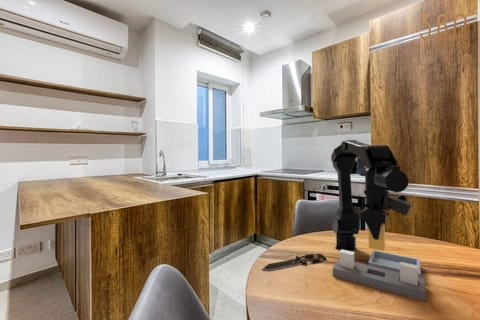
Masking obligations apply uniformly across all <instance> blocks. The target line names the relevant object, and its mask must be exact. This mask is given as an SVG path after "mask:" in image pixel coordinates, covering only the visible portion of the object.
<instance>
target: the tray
mask: <svg viewBox="0 0 480 320" xmlns="http://www.w3.org/2000/svg"><path fill="white" fill-rule="evenodd" d="M400 262H404V263H409V264H414V265H418V277H421V278H422V273H421V260H420V258H415V257H412V256H411V257H410V256H406V255H400V254H396V253H390V252H385V251H382V250H377V249H372V252H371V254H370V257H369V259H368V264H367V265H370V266H374V267H378V268H382V269H387V270H391V271H395V272H400Z"/></svg>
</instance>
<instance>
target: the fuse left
mask: <svg viewBox="0 0 480 320" xmlns="http://www.w3.org/2000/svg"><path fill="white" fill-rule="evenodd" d="M355 253H356V252H355V251H353V252H352V251H347V250H342V249H340V250H339V258H340V266H341V267H345V268H349V269H353V270H354V269H355V262H356V261H355V260H356V259H355V258H356V255H355Z"/></svg>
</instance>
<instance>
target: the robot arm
mask: <svg viewBox="0 0 480 320" xmlns="http://www.w3.org/2000/svg"><path fill="white" fill-rule="evenodd" d="M330 156H331V157H330V159H331V160H330V161H331V162H332V167H333V169H334V170H335V171H336V172H337V182H338V183H337V185H338V188H337V189H338V200H339V201H338V203H339V204H338V205H339V207H338V208H339V209H338V210H337V212H336V213H335V219H334V221H333V224H332V231H333V233H334V234H335V235H336V238H335V240H336V242H335V243H336V245H335V247H334V248H335V249H338V250H341V249H342V250H347V251H352V252H354V251H355V250H356V248H357V237H356V236H355V235H359V232H360V225H361V223H360V221H362V222H365V224H366V226H367V228H369V230H370V232H371V234H372V236H373V238H374V239H375V240H378V238H379V234H380V229H381V225H384V224H386V223H387V221H388V219H389V218H388V217H389V216H390V213H389V211H390V212H391V210H393V211H395V212H397V213H399V214H401V215H402V216H408V214H409V212H410V210H411V207H412V205H413V204H412V202H411V201H408V200H407V198H408V197H407V196H406V195H404V194H399V195H398V196H395V195H394V196H393V195H391V194H390V192H392V193H402V192H403V191H405V190H406V189H407V188H408V186H409V184H410V183H409V181H410V180H409V178H408V176H407V174H406V173H405V172H404V171H402V170H401V166H400V165H399V164H398V162H399V161H398V160H397V159H396V157H395V154H394V153H393V151H392V149H391V147H390V146H389V145H387V144H376V145H375V144H374V145H372V144H367V143H364V142H361V141H358V140H355V139H350V140H349V139H347V140H343V141H342V142H341V143H340V144H339V145H338V146H337V147H336V148H334V149H333V151H332V153H331V155H330ZM358 157H359V160H360V162H362V163H363V165H364V166H363V167H362V171H365V172H364V184H365V189H364V190H363V193H364V195H365V196H364V197H365V202H364V206H363V207H364V208H363V209H361V211H360V212H359V214H358V213H356V212H355V210H354V208H353V196H352V195H353V193H352V191H353V190H352V181H351V179H352V177H351V172H352V170H353V168H354V166H355V161H356V160H357V158H358ZM386 211H388V212H386ZM359 220H360V221H359Z"/></svg>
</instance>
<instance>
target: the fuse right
mask: <svg viewBox="0 0 480 320" xmlns="http://www.w3.org/2000/svg"><path fill="white" fill-rule="evenodd" d="M400 281H401V282H405V283H409V284H413V285H417V286H418V265H414V264H409V263H404V262H400Z"/></svg>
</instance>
